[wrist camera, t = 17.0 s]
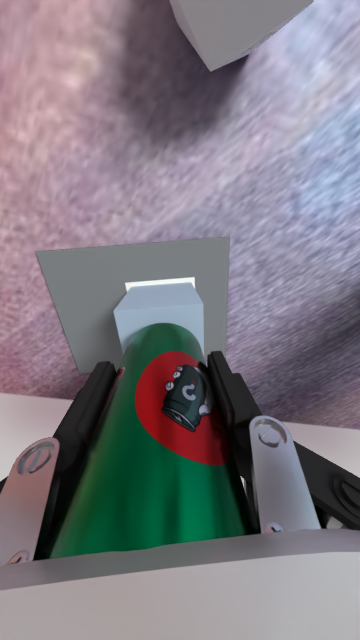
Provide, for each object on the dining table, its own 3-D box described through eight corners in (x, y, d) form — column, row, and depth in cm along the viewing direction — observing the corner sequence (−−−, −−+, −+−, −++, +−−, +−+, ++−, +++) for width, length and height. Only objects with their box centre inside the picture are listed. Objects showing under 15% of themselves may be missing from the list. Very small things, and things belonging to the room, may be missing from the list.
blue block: (190, 282, 19) (203, 303, 12) (193, 333, 21) (204, 374, 15) (132, 286, 19) (113, 310, 12) (140, 338, 21) (129, 381, 15)
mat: (228, 236, 18) (230, 236, 17) (224, 357, 23) (225, 359, 23) (38, 251, 17) (35, 251, 17) (81, 371, 23) (79, 373, 22)
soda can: (117, 326, 12) (-517, 1415, 1) (194, 312, 12) (565, 1299, 1) (138, 385, 14) (26, 934, 3) (204, 373, 14) (344, 892, 3)
